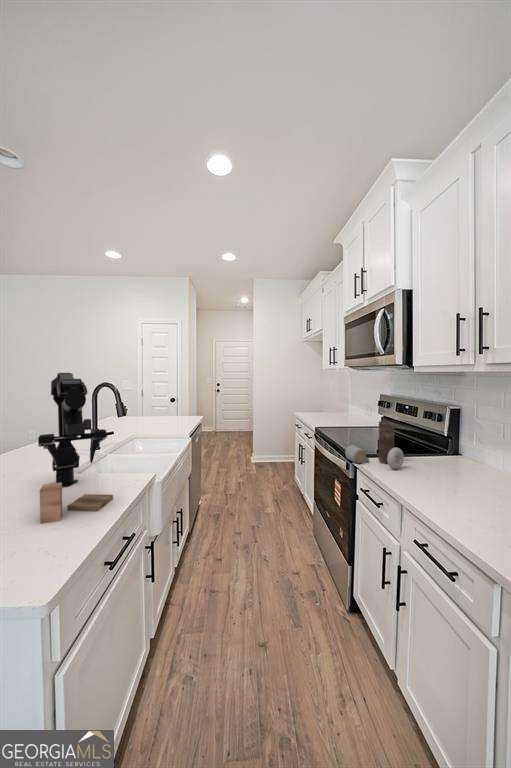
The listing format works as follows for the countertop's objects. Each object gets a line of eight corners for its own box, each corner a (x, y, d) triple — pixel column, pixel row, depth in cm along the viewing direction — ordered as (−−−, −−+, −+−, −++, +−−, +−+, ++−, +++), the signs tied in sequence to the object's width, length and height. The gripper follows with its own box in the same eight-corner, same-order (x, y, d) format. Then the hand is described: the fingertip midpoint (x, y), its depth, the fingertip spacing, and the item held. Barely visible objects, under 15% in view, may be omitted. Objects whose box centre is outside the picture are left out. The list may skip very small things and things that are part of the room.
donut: (398, 466, 156) (398, 445, 155) (405, 468, 153) (405, 446, 152) (385, 469, 150) (385, 448, 150) (392, 471, 147) (392, 449, 147)
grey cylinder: (354, 464, 158) (355, 448, 158) (344, 460, 166) (345, 445, 166) (372, 463, 162) (373, 447, 161) (362, 459, 169) (362, 444, 169)
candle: (375, 460, 167) (376, 420, 166) (389, 459, 167) (390, 420, 167) (382, 464, 159) (383, 423, 158) (397, 464, 160) (397, 422, 159)
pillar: (43, 517, 100) (42, 484, 100) (62, 514, 102) (61, 482, 102) (40, 523, 96) (39, 490, 95) (60, 520, 98) (59, 487, 97)
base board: (84, 498, 115) (84, 494, 115) (112, 499, 115) (112, 494, 114) (67, 510, 105) (67, 505, 105) (97, 511, 105) (97, 506, 104)
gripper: (38, 412, 94) (40, 467, 91) (108, 408, 105) (112, 457, 102) (37, 420, 103) (39, 471, 100) (102, 416, 114) (105, 461, 110)
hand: (75, 465), depth 103 cm, fingers open, 9 cm apart
